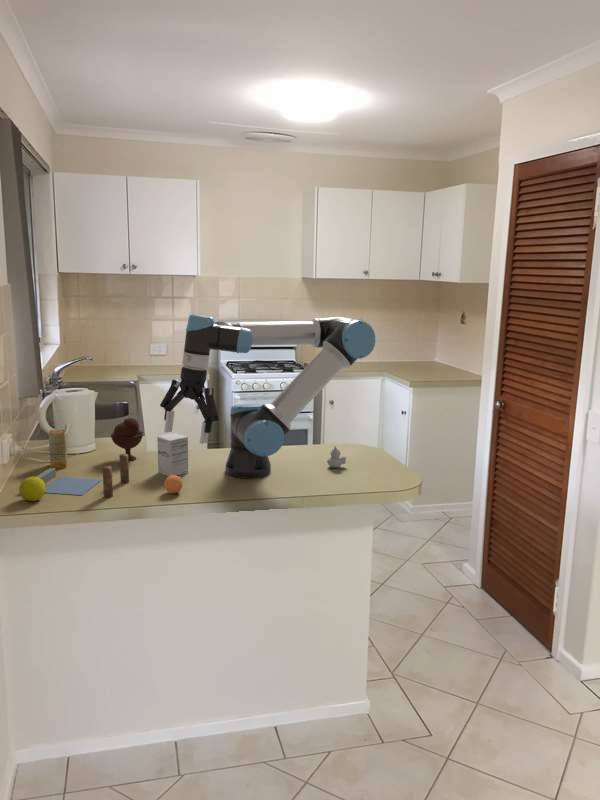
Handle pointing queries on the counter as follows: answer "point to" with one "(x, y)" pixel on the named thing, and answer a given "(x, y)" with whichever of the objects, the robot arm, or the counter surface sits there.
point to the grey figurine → (336, 458)
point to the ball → (173, 484)
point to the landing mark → (71, 485)
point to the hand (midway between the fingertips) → (185, 437)
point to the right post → (124, 468)
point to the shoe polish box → (58, 448)
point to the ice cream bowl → (127, 436)
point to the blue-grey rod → (47, 475)
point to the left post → (107, 482)
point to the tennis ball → (32, 489)
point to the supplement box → (172, 454)
